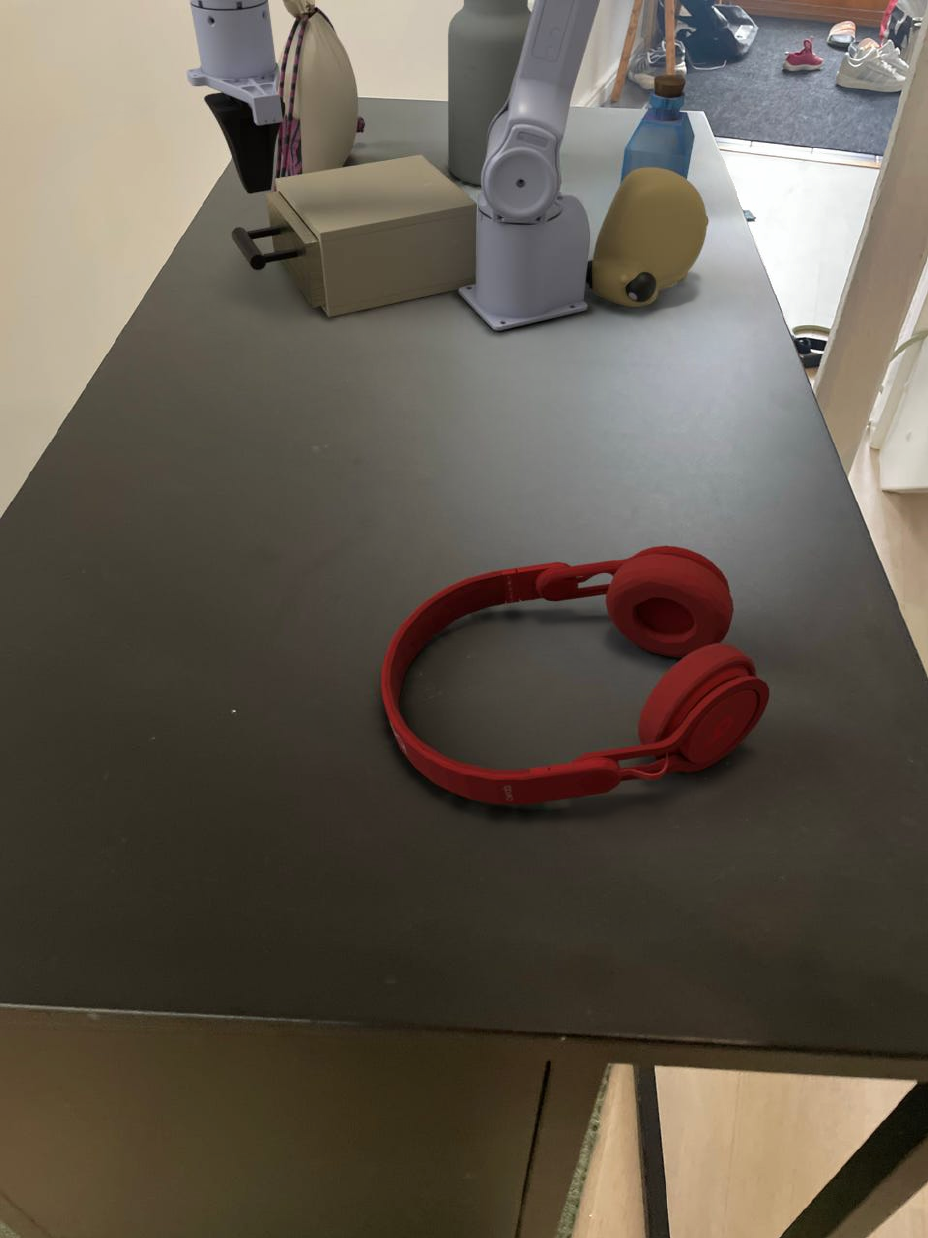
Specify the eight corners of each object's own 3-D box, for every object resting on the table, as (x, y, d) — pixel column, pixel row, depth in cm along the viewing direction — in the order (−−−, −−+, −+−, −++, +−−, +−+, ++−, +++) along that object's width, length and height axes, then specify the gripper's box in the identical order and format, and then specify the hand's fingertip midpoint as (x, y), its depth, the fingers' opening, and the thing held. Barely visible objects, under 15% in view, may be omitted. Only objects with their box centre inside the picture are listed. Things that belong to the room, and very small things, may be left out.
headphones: (709, 593, 57) (394, 639, 58) (717, 507, 52) (371, 559, 53) (783, 797, 47) (400, 848, 48) (802, 714, 42) (372, 774, 43)
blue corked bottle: (683, 195, 100) (706, 74, 92) (673, 218, 96) (696, 92, 88) (628, 187, 102) (645, 67, 93) (616, 209, 98) (632, 85, 89)
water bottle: (455, 151, 109) (456, -154, 88) (536, 156, 108) (556, -151, 87) (442, 185, 102) (439, -138, 81) (529, 191, 101) (548, -134, 81)
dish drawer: (265, 317, 79) (255, 252, 75) (230, 262, 86) (219, 200, 82) (451, 278, 85) (451, 215, 81) (403, 229, 92) (401, 169, 88)
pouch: (317, 140, 111) (298, -51, 97) (383, 144, 110) (374, -47, 96) (255, 227, 94) (220, 11, 80) (332, 233, 93) (311, 16, 79)
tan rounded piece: (592, 307, 90) (544, 263, 81) (650, 191, 88) (608, 132, 79) (675, 340, 85) (635, 297, 76) (739, 218, 83) (705, 158, 74)
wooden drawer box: (328, 317, 81) (319, 232, 76) (285, 258, 89) (274, 178, 84) (475, 285, 86) (477, 203, 80) (422, 232, 93) (420, 154, 88)
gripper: (153, -18, 71) (190, 166, 81) (200, 31, 62) (234, 230, 72) (242, -26, 73) (267, 154, 83) (299, 20, 64) (319, 215, 74)
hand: (257, 188), depth 77 cm, fingers closed
